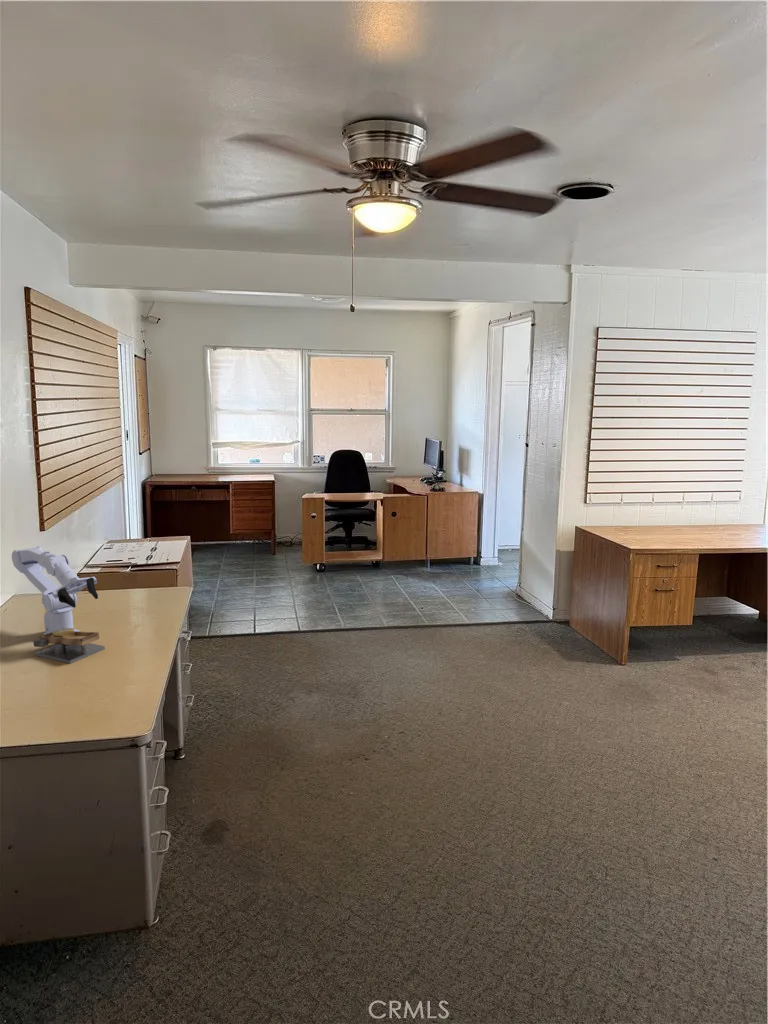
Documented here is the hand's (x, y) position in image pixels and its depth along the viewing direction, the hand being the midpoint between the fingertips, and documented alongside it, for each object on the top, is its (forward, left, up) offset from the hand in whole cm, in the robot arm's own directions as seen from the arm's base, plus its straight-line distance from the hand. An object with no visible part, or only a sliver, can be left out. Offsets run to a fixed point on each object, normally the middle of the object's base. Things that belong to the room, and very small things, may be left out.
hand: (85, 601), depth 221 cm
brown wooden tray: (-1, -6, -12) cm, 14 cm away
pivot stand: (-1, -6, -16) cm, 17 cm away
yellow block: (-4, -6, -11) cm, 14 cm away
